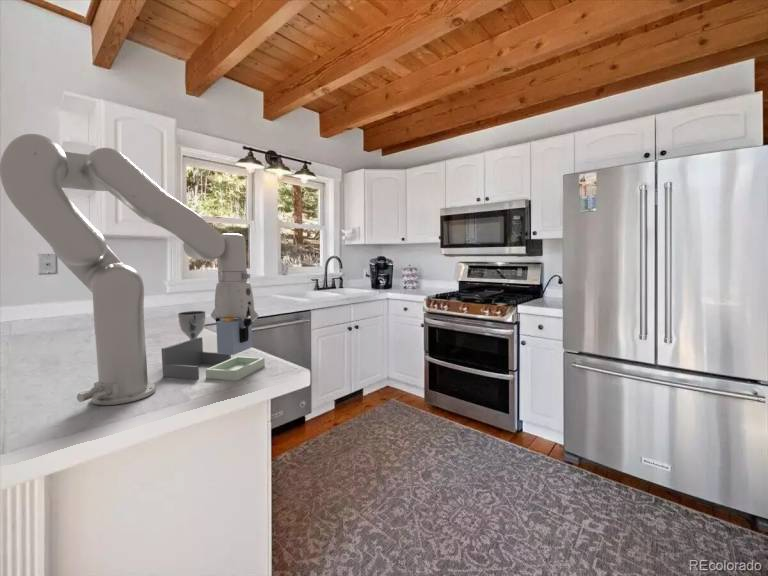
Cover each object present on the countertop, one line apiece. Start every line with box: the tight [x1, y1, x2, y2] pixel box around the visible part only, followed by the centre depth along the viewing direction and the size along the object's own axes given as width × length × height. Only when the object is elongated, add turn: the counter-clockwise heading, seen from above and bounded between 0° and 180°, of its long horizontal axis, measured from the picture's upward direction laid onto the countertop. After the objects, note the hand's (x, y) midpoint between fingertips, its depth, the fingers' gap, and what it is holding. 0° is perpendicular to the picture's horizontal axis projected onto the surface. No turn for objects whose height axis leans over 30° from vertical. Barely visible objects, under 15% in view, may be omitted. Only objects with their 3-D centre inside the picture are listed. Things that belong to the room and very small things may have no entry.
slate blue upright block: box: [215, 316, 253, 356], centre depth 105 cm, size 5×9×10 cm, turn 167°
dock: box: [161, 337, 232, 380], centre depth 107 cm, size 15×11×8 cm
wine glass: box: [177, 310, 206, 340], centre depth 121 cm, size 8×8×15 cm
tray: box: [205, 355, 266, 382], centre depth 106 cm, size 14×10×2 cm
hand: (235, 340), depth 105 cm, fingers closed on slate blue upright block, 5 cm apart
